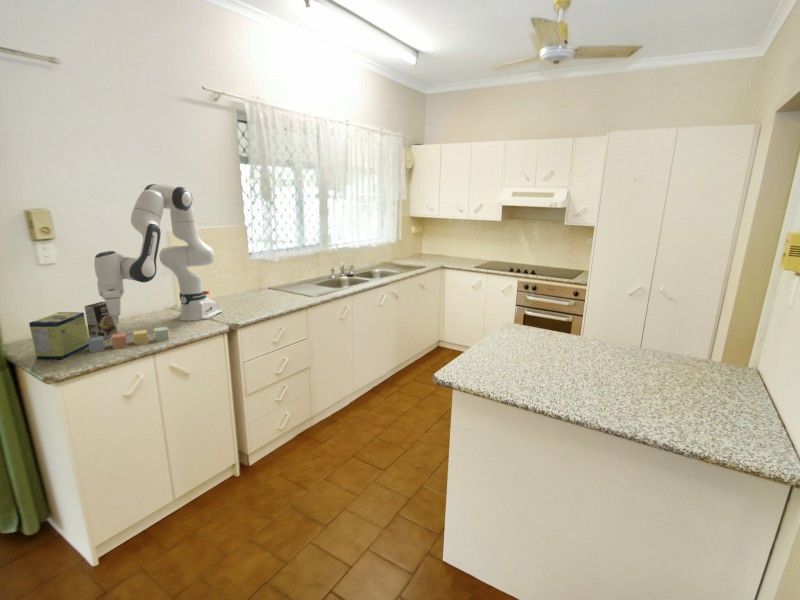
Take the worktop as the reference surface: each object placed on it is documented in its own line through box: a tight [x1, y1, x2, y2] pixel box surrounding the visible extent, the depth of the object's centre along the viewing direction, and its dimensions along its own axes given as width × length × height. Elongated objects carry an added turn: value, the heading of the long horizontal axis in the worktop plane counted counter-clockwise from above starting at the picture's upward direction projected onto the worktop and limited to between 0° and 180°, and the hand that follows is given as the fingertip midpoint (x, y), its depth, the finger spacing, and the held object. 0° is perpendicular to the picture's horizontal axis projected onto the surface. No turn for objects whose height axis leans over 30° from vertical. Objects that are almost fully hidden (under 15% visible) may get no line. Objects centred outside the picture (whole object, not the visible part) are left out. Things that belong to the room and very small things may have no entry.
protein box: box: [28, 311, 89, 360], centre depth 166 cm, size 10×16×16 cm
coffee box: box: [84, 301, 119, 341], centre depth 184 cm, size 9×6×16 cm
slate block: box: [88, 336, 106, 353], centre depth 171 cm, size 5×5×5 cm
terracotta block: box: [111, 332, 128, 349], centre depth 176 cm, size 5×5×5 cm
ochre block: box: [132, 329, 149, 346], centre depth 180 cm, size 5×5×5 cm
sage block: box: [153, 326, 170, 342], centre depth 185 cm, size 5×5×5 cm
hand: (116, 321), depth 173 cm, fingers open, 8 cm apart
